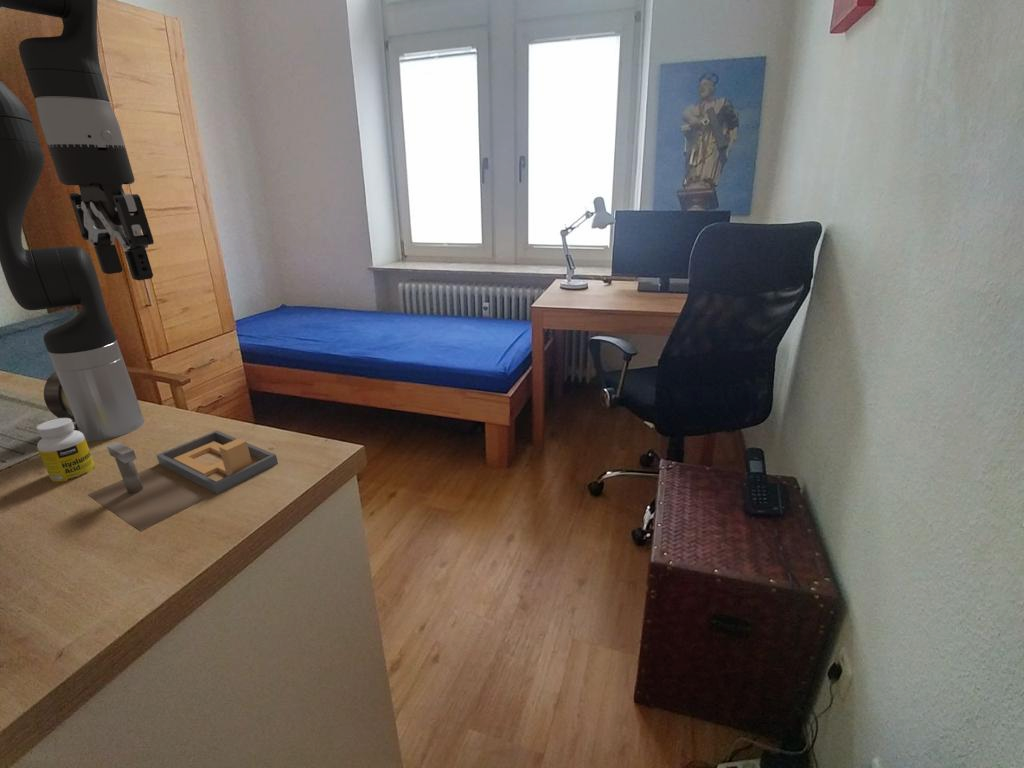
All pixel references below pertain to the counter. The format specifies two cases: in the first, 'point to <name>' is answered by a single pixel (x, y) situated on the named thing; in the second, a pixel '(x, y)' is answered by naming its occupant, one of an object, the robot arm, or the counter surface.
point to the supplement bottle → (64, 450)
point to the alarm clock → (57, 399)
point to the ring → (232, 460)
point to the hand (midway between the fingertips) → (128, 276)
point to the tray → (216, 487)
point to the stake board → (142, 493)
